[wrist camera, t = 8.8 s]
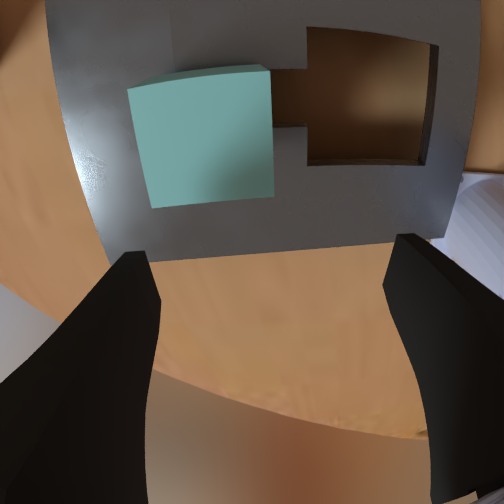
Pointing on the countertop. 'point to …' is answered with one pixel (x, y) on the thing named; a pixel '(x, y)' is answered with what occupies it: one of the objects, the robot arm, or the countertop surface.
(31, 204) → the countertop surface
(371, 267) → the countertop surface
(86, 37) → the keyhole bracket
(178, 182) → the peg
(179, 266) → the countertop surface
